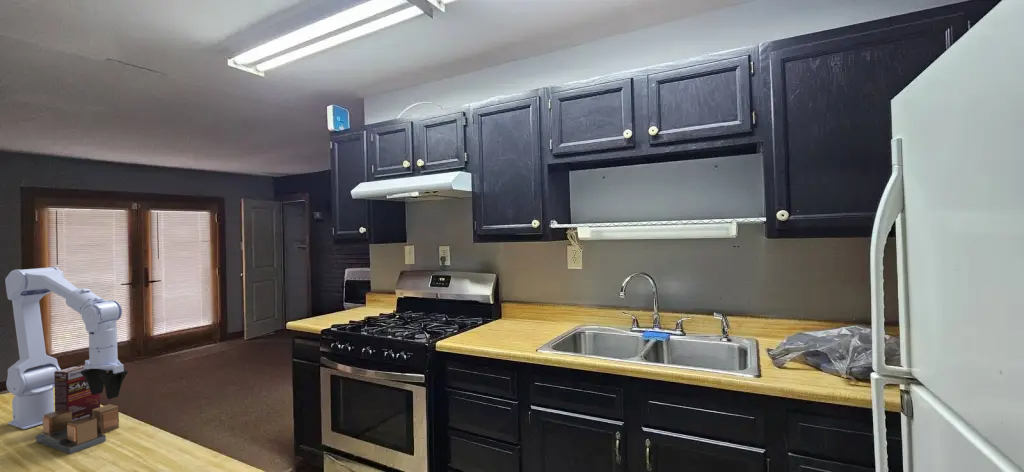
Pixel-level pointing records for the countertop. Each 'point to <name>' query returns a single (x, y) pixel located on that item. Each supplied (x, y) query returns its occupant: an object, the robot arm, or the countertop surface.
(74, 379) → the supplement box
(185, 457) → the countertop surface
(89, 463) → the countertop surface
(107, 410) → the brown wooden block
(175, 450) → the countertop surface
